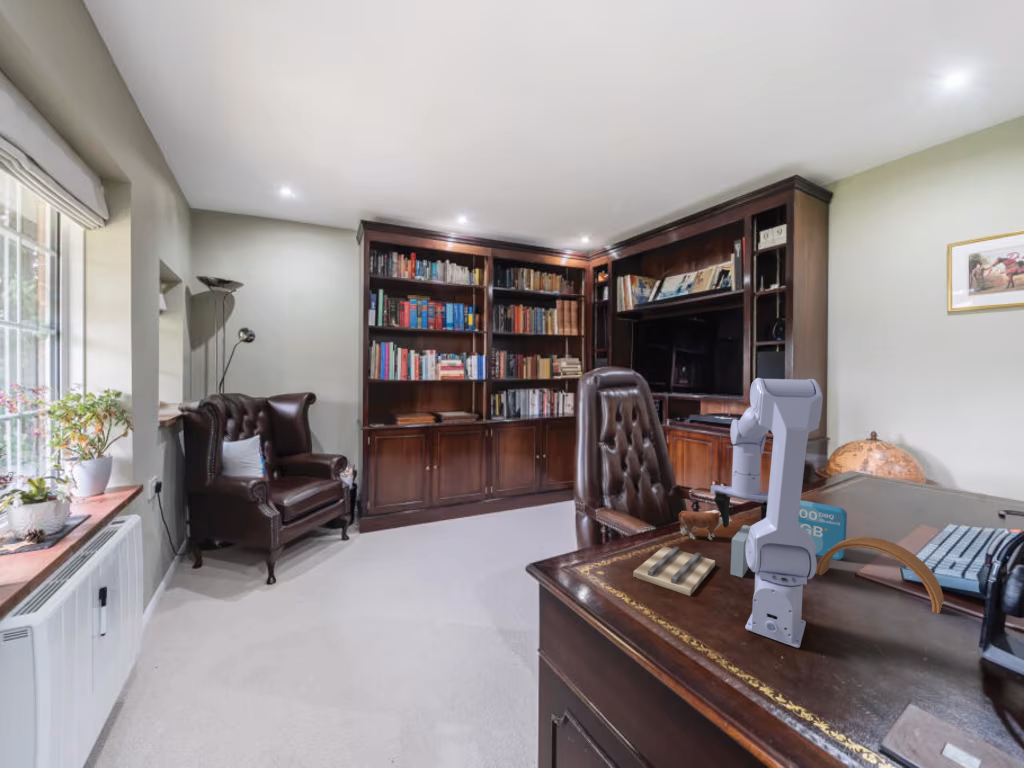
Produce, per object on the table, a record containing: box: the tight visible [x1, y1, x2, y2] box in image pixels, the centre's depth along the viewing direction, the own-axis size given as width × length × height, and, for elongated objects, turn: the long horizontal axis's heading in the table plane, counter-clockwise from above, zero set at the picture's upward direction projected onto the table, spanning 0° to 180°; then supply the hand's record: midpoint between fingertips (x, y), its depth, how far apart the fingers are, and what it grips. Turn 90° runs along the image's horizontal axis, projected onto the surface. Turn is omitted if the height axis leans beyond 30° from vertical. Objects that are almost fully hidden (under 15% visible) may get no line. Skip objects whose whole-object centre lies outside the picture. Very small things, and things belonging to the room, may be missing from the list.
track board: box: [632, 546, 716, 597], centre depth 98 cm, size 18×12×2 cm, turn 140°
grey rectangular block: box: [730, 524, 752, 578], centre depth 100 cm, size 12×2×8 cm, turn 140°
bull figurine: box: [678, 509, 733, 541], centre depth 117 cm, size 4×13×8 cm, turn 78°
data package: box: [798, 500, 848, 561], centre depth 110 cm, size 12×4×12 cm, turn 48°
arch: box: [815, 536, 944, 614], centre depth 92 cm, size 6×20×10 cm, turn 38°
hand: (743, 530), depth 100 cm, fingers open, 7 cm apart
